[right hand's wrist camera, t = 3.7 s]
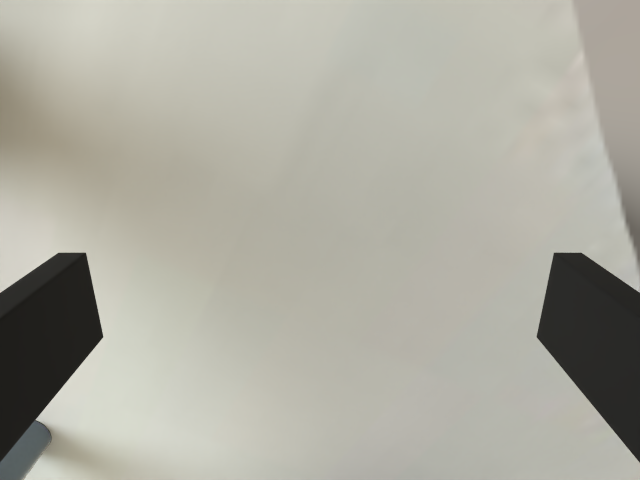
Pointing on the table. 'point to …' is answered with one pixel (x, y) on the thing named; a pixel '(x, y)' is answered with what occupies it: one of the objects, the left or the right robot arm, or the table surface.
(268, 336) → the table surface
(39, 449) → the bottle
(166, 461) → the table surface
